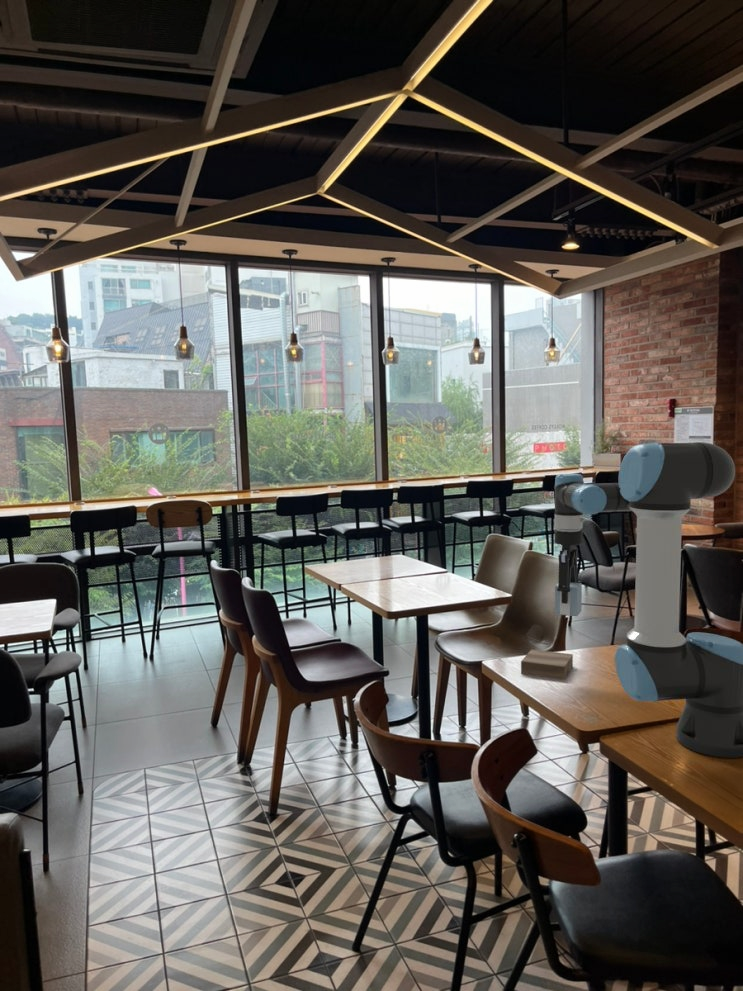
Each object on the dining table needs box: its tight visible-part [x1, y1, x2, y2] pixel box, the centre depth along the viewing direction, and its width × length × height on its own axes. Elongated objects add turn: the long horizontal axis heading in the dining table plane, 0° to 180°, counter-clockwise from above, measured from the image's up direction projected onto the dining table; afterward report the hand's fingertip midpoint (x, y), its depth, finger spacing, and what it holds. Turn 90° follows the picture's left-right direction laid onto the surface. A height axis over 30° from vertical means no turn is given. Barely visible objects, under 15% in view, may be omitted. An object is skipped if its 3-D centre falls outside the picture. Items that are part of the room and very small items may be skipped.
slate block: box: [554, 582, 583, 617], centre depth 193 cm, size 6×6×8 cm
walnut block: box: [520, 649, 574, 681], centre depth 198 cm, size 12×12×4 cm
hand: (567, 611), depth 193 cm, fingers closed on slate block, 6 cm apart
